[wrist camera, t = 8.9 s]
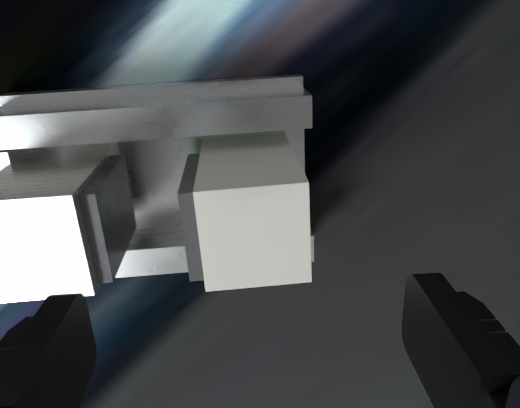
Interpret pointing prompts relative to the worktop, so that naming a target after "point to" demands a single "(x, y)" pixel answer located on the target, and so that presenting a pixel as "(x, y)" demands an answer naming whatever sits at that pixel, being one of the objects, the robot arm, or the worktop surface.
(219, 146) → the block
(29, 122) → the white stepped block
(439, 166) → the worktop surface
